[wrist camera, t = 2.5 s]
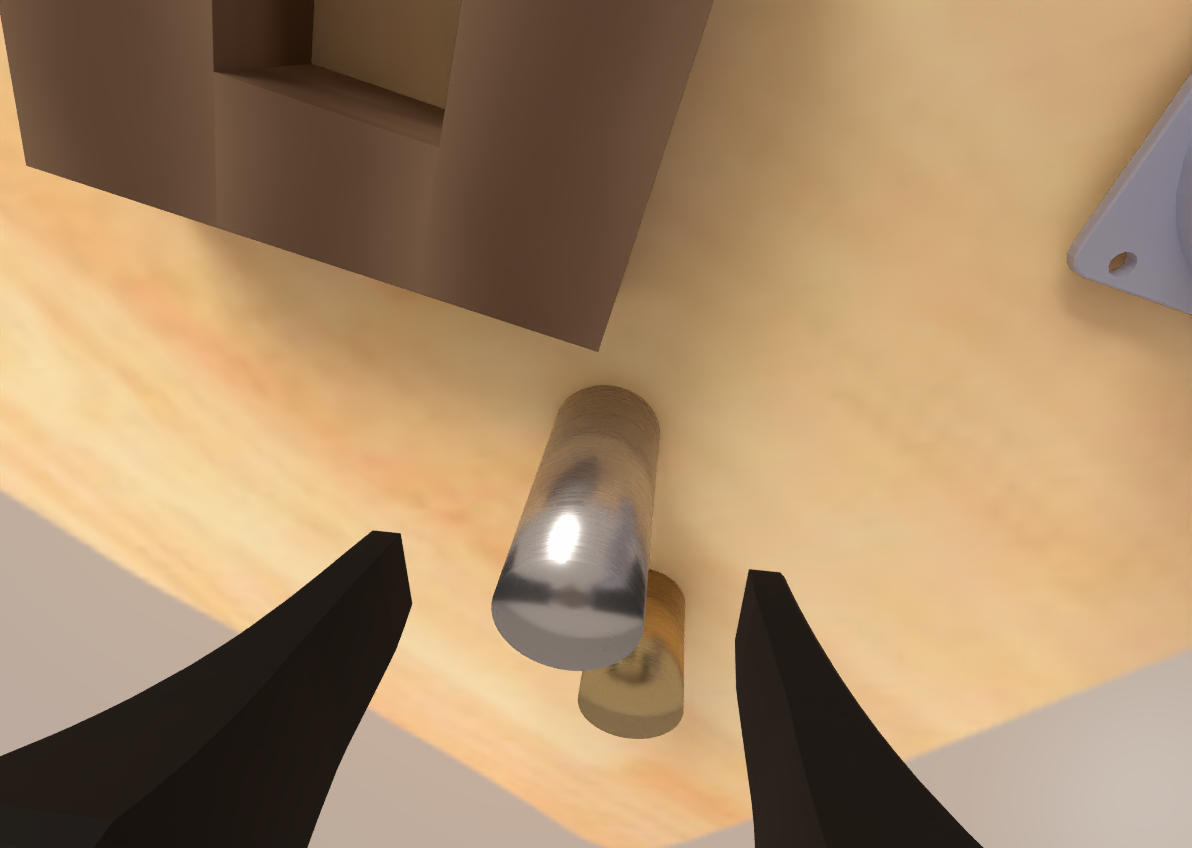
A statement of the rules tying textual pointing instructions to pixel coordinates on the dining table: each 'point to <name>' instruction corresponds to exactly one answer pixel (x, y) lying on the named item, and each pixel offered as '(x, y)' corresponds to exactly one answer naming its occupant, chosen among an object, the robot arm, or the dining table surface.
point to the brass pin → (643, 672)
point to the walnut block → (375, 138)
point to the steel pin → (584, 537)
